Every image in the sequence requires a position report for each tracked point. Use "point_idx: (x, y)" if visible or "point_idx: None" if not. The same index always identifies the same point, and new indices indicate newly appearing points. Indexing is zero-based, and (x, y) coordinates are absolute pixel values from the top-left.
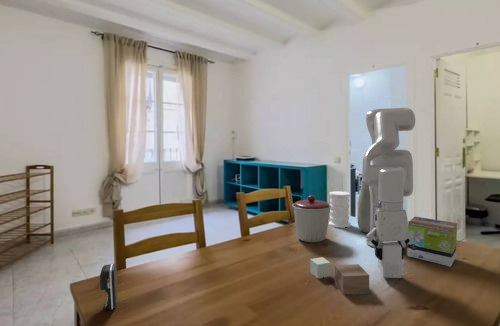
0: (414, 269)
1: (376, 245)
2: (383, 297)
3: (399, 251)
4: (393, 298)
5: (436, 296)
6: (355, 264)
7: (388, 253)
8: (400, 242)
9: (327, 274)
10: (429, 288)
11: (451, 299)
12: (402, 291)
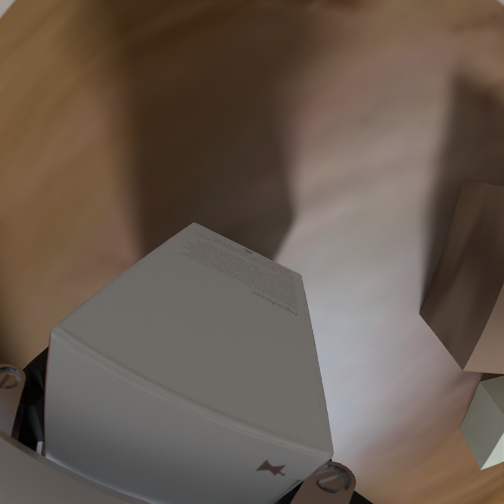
0: (45, 323)
1: (348, 498)
2: (420, 118)
3: (118, 310)
4: (377, 89)
5: (131, 51)
6: (479, 370)
7: (270, 360)
8: (18, 427)
9: (495, 385)
10: (97, 130)
11: (95, 24)
12: (267, 133)
